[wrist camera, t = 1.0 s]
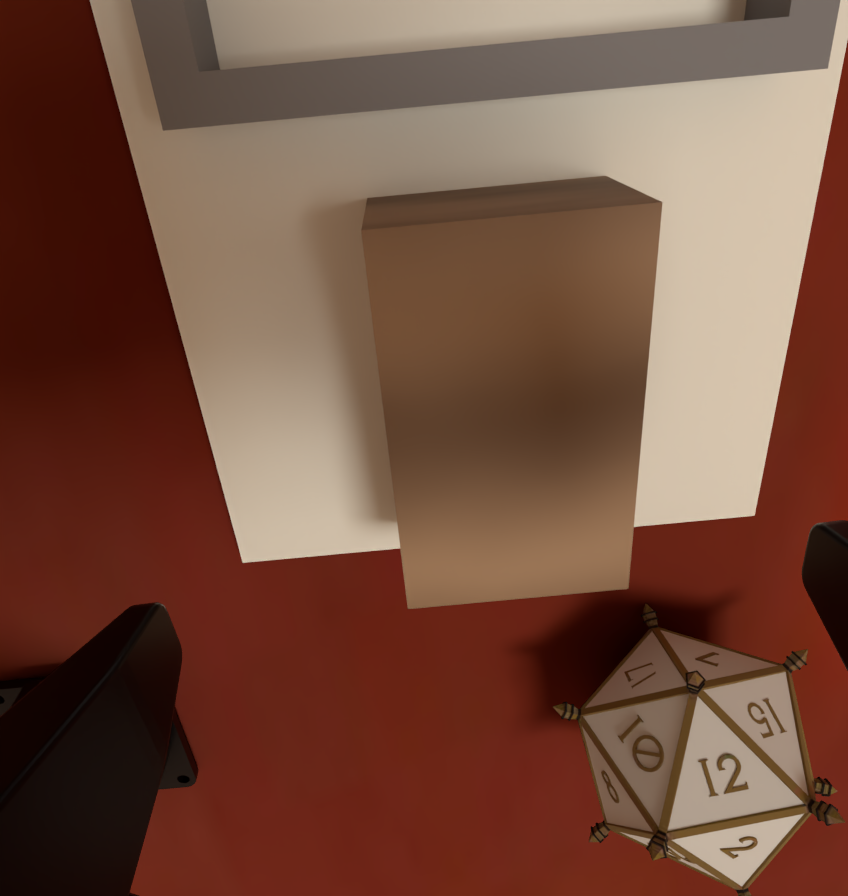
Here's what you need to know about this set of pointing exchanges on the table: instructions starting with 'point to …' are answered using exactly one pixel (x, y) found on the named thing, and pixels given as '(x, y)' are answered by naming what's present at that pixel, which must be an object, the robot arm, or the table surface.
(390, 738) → the table surface
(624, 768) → the game die
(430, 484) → the card box
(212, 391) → the mat
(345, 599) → the table surface
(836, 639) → the robot arm
